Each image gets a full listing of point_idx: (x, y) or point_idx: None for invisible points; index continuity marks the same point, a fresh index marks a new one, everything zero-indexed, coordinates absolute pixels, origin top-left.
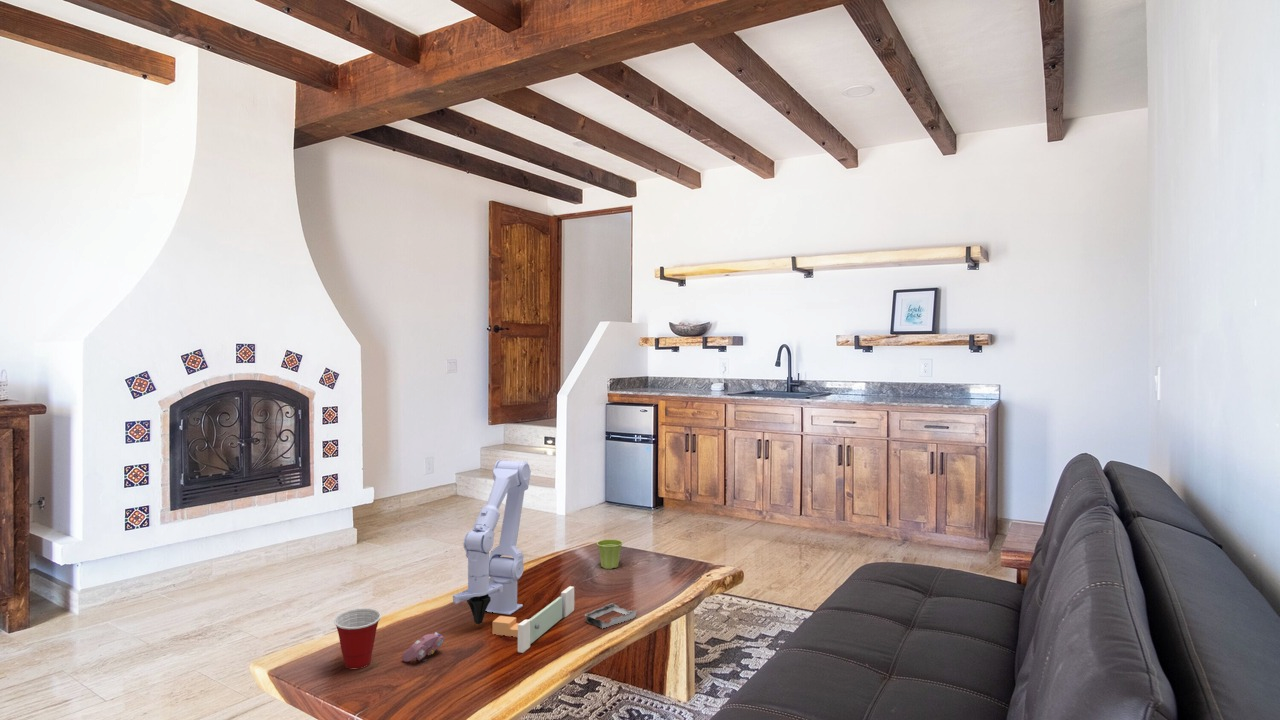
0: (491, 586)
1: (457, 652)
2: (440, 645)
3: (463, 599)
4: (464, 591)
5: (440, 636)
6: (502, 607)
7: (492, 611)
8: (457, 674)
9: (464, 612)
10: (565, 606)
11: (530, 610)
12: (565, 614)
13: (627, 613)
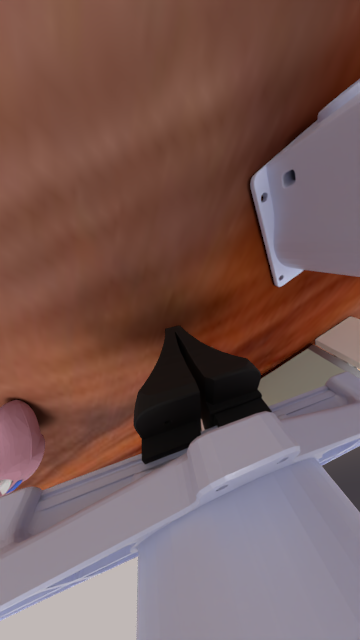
0: (339, 452)
1: (93, 418)
2: (41, 435)
3: (93, 493)
4: (99, 542)
5: (20, 482)
6: (292, 262)
7: (264, 233)
8: (86, 462)
9: (185, 108)
10: (339, 357)
11: (323, 278)
12: (321, 347)
13: (351, 365)
